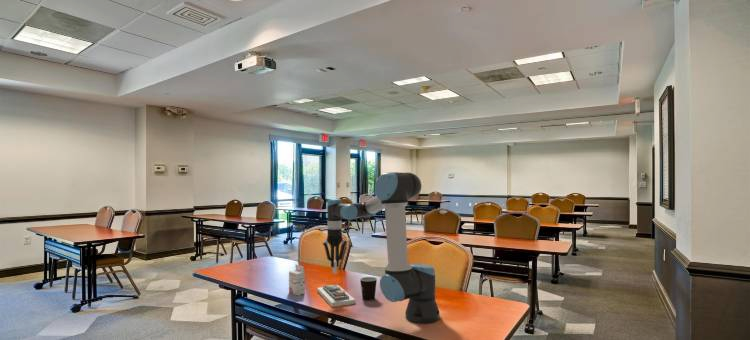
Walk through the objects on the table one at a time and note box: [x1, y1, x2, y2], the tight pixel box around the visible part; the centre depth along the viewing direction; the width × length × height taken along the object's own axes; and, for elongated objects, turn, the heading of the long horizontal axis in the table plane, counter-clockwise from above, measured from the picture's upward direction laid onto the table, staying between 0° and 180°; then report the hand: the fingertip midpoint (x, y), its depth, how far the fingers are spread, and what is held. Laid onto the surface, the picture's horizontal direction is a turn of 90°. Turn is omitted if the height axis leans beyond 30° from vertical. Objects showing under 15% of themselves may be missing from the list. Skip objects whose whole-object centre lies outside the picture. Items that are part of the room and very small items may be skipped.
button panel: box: [316, 284, 356, 308], centre depth 200 cm, size 28×12×3 cm, turn 23°
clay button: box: [335, 289, 346, 296], centre depth 193 cm, size 5×5×2 cm
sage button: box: [325, 284, 336, 289], centre depth 207 cm, size 5×5×2 cm
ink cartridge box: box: [288, 264, 306, 296], centre depth 208 cm, size 9×5×15 cm, turn 47°
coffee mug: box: [359, 276, 378, 301], centre depth 199 cm, size 12×9×10 cm
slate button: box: [330, 286, 341, 292], centre depth 200 cm, size 5×5×2 cm
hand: (334, 273), depth 200 cm, fingers closed
